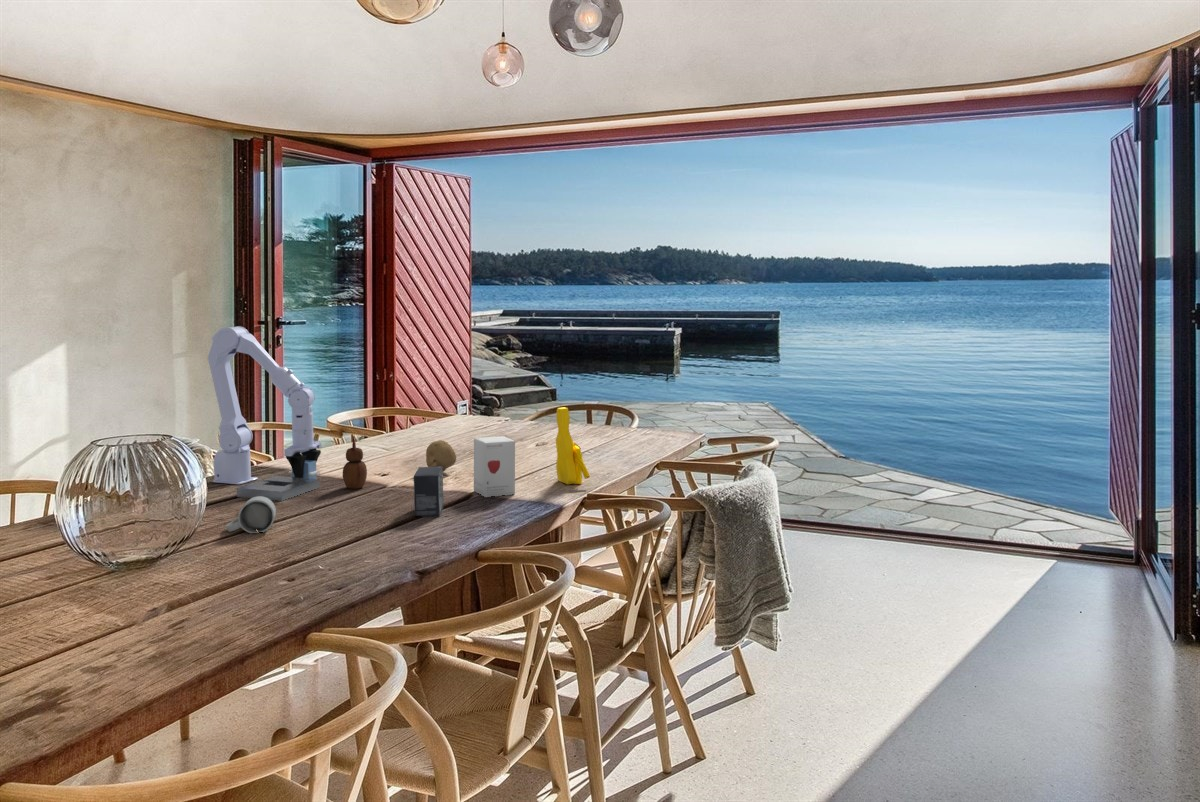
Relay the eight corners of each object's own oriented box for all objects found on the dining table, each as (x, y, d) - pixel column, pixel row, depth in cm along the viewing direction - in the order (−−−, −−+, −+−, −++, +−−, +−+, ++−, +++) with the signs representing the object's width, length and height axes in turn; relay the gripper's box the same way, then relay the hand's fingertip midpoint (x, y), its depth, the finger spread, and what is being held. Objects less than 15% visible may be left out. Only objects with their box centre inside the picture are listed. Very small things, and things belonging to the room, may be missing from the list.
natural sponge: (459, 470, 268) (459, 438, 267) (451, 476, 259) (451, 443, 258) (430, 469, 269) (430, 437, 268) (422, 475, 260) (421, 442, 259)
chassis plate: (237, 497, 231) (236, 487, 231) (276, 484, 246) (275, 475, 246) (281, 501, 227) (281, 491, 227) (318, 488, 242) (318, 479, 242)
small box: (418, 506, 223) (417, 466, 222) (444, 506, 223) (443, 466, 222) (413, 517, 212) (412, 474, 211) (440, 516, 213) (439, 474, 212)
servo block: (288, 482, 250) (288, 461, 249) (296, 479, 253) (296, 459, 253) (312, 484, 248) (311, 463, 247) (319, 481, 251) (319, 461, 250)
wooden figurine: (359, 491, 240) (357, 437, 238) (339, 489, 241) (338, 436, 239) (370, 485, 246) (369, 433, 244) (351, 484, 247) (350, 432, 245)
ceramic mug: (277, 523, 205) (275, 491, 204) (275, 532, 198) (273, 499, 197) (228, 527, 202) (226, 495, 201) (224, 536, 194) (222, 503, 194)
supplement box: (484, 498, 233) (483, 442, 231) (473, 491, 241) (472, 437, 239) (516, 494, 237) (515, 440, 235) (503, 488, 245) (503, 435, 243)
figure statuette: (595, 487, 246) (596, 410, 244) (570, 490, 243) (571, 411, 240) (567, 475, 262) (568, 403, 259) (543, 478, 258) (544, 404, 256)
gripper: (298, 434, 241) (300, 482, 242) (329, 427, 254) (331, 472, 256) (277, 433, 243) (278, 481, 244) (309, 425, 257) (310, 471, 258)
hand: (304, 476), depth 250 cm, fingers open, 4 cm apart
